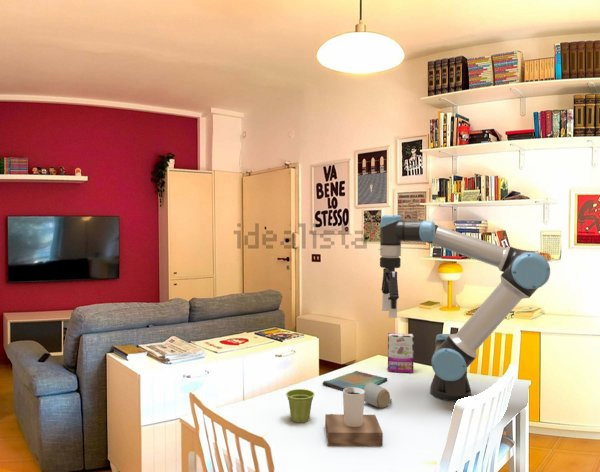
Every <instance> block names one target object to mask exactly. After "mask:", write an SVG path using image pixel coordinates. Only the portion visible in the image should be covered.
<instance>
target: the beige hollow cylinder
mask: <svg viewBox="0 0 600 472" xmlns="http://www.w3.org/2000/svg"><path fill="white" fill-rule="evenodd" d="M364 394H365V391H364V390H363V389H360V388H353V387H352V388H345V389H344V390H343V391H342V400H343V402H342V403H343V414H344V424H345V425H347V426H350V427H359V426H361V425H363V415H364V408H365V406H364V405H365V401H364Z"/></svg>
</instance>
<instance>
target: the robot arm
mask: <svg viewBox="0 0 600 472" xmlns="http://www.w3.org/2000/svg"><path fill="white" fill-rule="evenodd" d="M379 228H380V230H379V231H380V233H379V234H380V236H379V237H380V240H379V242H380V243H379V245H380V247H379V248H378V251H379V255H380V256H381V257H380V258H379V268H382V271H383V274H382V280H381V281H382V282H381V288H380V290H381V291H382V292H381V293H382V301H381V303H382V304H381V305H382V307H381V310H382V311H383V312H388V318H391V319H397V318H398V299H399V298H400V296H399V287H398V286H399V285H398V272H397V271H395V270H396V269H399V268H401V261H402V260H401V258H400V257H401V255H402V242H422V243H427V244H431V245H433V246H435V247H436V246H437V247H440V248H442V249H445V250H448V251H449V252H450V251H451V252H454V253H456V254H459V255H462V256H464V257H467V258H471V259H474V260H477V261H479V262H483V263H484V264H487V265H490V266H494V267H495V268H496V267H497V268H498V270H499V271H500V272H502V273H501V274H500V283H499V284H498V285H497V286H496V287H495V289H493V291H492V292H491V293H490V294H489V296H487V298H486V299H485V300H484V301H483V302H482V303H481V305H479V307H478V308H477V309H476V310H475V312H473V314H472V315H471V317H470V318H468V320H467V321H466V322H465V323H464V324H463V325H462V327H461V328H460V329H458V330H459V331H457V333H452V334H451V333H439V334H436V336H435V341H434V342H435V349H434V352H433V354H432V356H431V359H430V361H431V367H432V371H433V372H434V376H433V378H432V381H431V384H430V387H429V388H430V389H429V391H430V392H429V393H430V395H432V396H433V397H434V398H436V399H440V400H444V401H450V402H458V401H457V400H458V399H461V398H464V397H468V396H471V397H472V388H471V385H470V383H469V379H468V368H469V367H470V365H471V364H472V363H473V362H474V361H475V359H476V358H477V355H478V354H477V350H478V349H479V348H480V347H481V346H482V345H483V344H484V342H485V341H487V339H488V338H489V337H490V336H491V334H492V333H493V332H494V331H495V330H496V329H497V328H498V326H500V324H501V323H502V322H503V321H504V320H505V319H506V318H507V317H508V315H510V313H511V312H512V311H513V310H514V309H515V307H516V306H517V305H518V304H519V303H520V302H521V301H522V300H524V299H530V298H531V296H532V295H533V294H534V293H535V292H536V291H537V290H538V289H539V288H542V287H543V286H545V285H546V283H547V282H548V280H549V279H550V276H551V266H550V264H549V262H548V261H547V258H545V257H544V256H543V255H541V254H539V253H537V252H535V251H532V250H531V251H530V250H525V249H521V248H516V247H512V246H510V245H509V246H506V247H504V246H500V245H498V244H494V243H493V242H489V241H486V240H483V239H480V238H476V237H474V236H471V235H468V234H465V233H462V232H459V231H457V230H456V231H455V230H454V229H450V228H447V227H443V226H441V225H437V224H436V223H435V222H434V221H432V220H403V219H402V215H400V214H399V215H398V214H384V215H382V216H381V218H380V227H379Z"/></svg>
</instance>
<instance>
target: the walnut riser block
mask: <svg viewBox="0 0 600 472" xmlns="http://www.w3.org/2000/svg"><path fill="white" fill-rule="evenodd" d="M324 415H325V417H324V418H325V419H324V420H325V421H324V422H325V423H324V426H325V428H324V429H325V433H326V440H327V446H328V447H383V440H384V439H383V438H384V436H383V435H384V433H383V430H382V428H381V425H380V423H379V420H378V418H377V416H376V414H363V425H361V426H359V427H350V426H347V425H345V424H344V413H343V414H341V413H340V414H337V413H336V414H330V413H329V414H326V413H325V414H324Z"/></svg>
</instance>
